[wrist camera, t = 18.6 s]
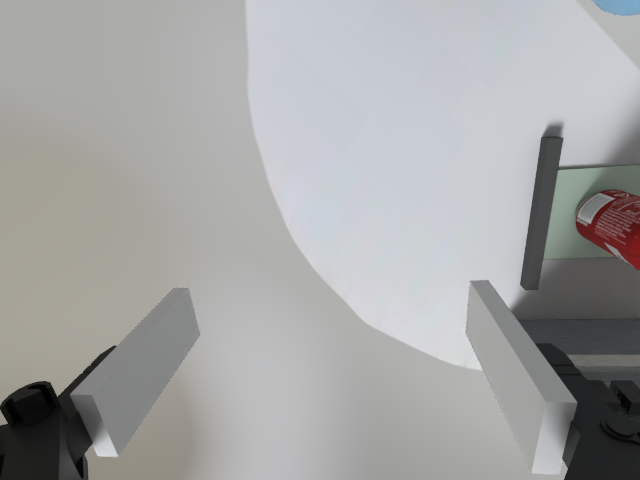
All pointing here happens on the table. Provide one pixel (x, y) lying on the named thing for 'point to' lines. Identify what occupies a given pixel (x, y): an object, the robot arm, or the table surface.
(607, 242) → the soda can
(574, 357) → the breaker panel
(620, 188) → the mat
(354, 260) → the table surface
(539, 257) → the bar
